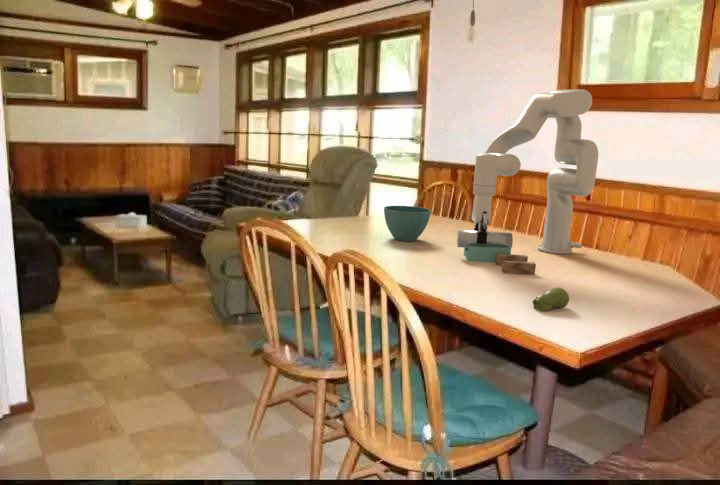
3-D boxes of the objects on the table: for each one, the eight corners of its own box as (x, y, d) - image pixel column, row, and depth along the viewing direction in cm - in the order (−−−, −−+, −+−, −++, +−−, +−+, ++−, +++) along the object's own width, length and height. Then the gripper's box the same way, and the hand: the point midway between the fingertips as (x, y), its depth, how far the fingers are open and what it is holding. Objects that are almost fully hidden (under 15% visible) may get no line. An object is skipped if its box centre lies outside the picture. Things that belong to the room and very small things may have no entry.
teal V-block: (502, 256, 210) (504, 243, 209) (509, 263, 199) (510, 249, 198) (463, 254, 211) (464, 240, 210) (468, 261, 200) (469, 246, 199)
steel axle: (507, 247, 207) (509, 230, 205) (511, 252, 201) (513, 235, 200) (456, 244, 208) (458, 227, 206) (458, 249, 202) (460, 232, 200)
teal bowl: (398, 233, 246) (400, 204, 243) (436, 240, 235) (439, 209, 233) (373, 238, 231) (375, 207, 229) (413, 246, 221) (415, 213, 218)
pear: (573, 289, 149) (543, 298, 145) (573, 308, 151) (543, 318, 147) (557, 283, 154) (527, 292, 150) (557, 302, 155) (528, 311, 152)
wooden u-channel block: (525, 265, 198) (526, 255, 197) (534, 274, 186) (535, 264, 185) (495, 263, 198) (496, 253, 198) (502, 272, 186) (503, 262, 185)
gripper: (469, 187, 209) (465, 236, 213) (477, 192, 192) (472, 245, 195) (490, 188, 209) (486, 237, 212) (500, 193, 192) (495, 247, 195)
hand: (479, 241), depth 204 cm, fingers open, 7 cm apart
